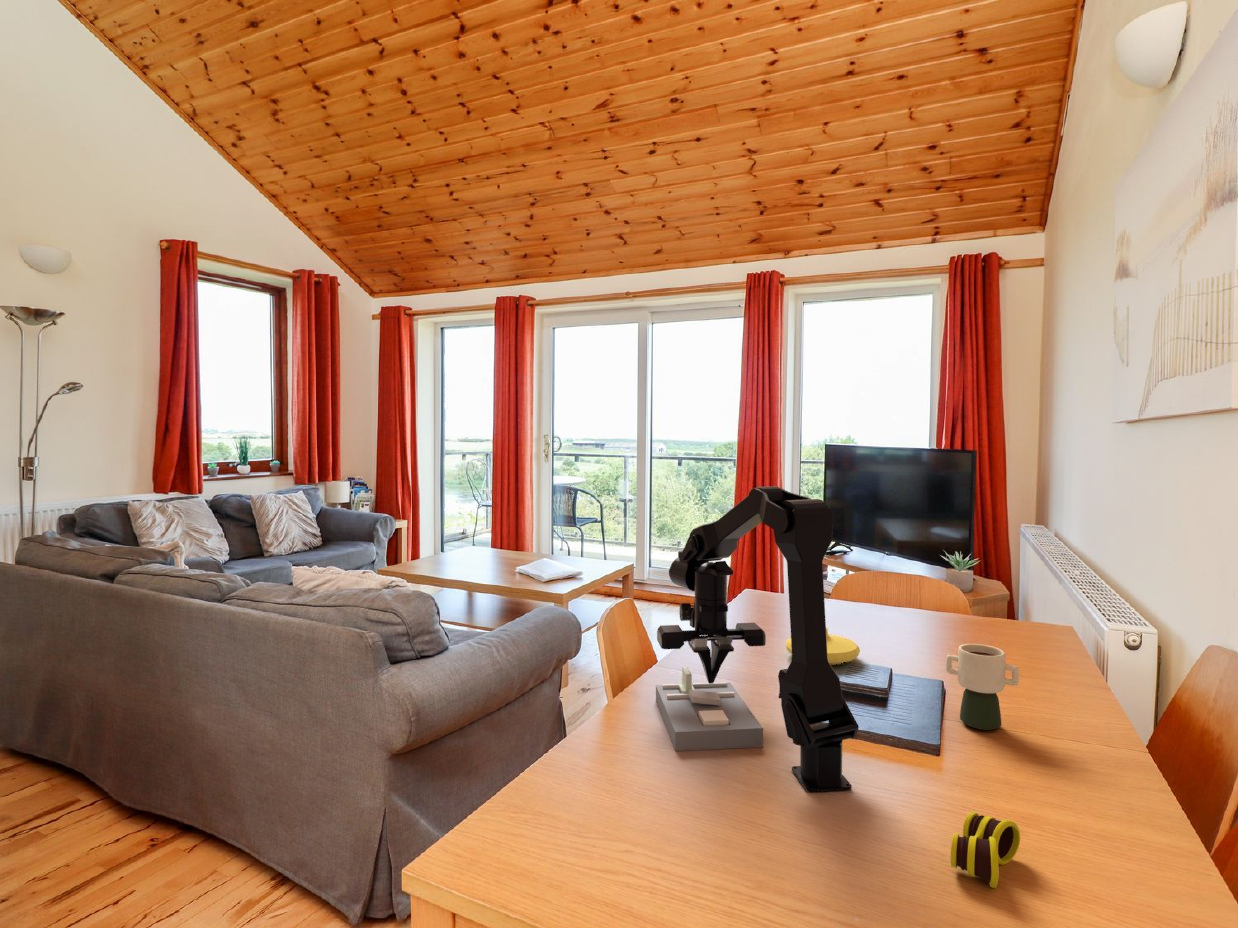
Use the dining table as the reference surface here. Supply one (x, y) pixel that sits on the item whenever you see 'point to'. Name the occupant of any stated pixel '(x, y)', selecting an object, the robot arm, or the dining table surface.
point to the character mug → (981, 683)
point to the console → (694, 736)
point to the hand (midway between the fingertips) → (710, 682)
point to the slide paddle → (686, 681)
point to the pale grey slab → (704, 697)
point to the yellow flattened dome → (836, 649)
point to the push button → (713, 718)
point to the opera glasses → (985, 846)
